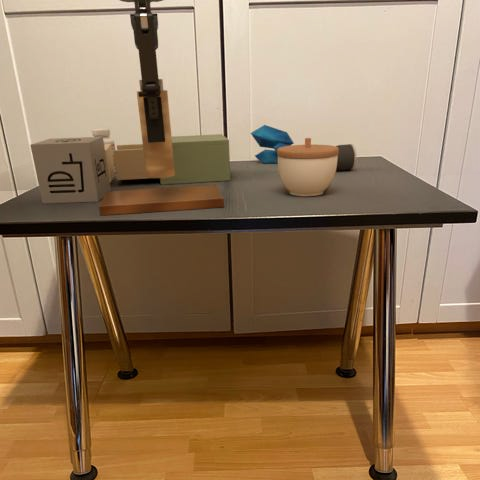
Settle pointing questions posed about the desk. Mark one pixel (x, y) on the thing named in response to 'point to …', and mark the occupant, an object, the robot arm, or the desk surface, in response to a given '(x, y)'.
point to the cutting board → (161, 200)
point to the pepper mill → (157, 153)
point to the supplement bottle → (105, 139)
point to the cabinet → (199, 159)
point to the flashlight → (346, 157)
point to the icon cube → (71, 169)
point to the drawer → (126, 162)
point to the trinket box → (307, 167)
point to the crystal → (270, 143)
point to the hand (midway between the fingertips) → (156, 139)
